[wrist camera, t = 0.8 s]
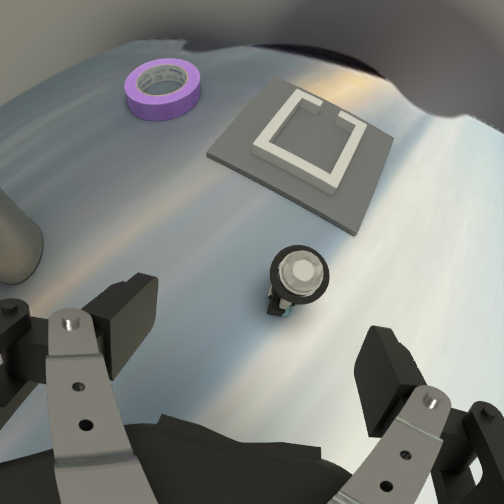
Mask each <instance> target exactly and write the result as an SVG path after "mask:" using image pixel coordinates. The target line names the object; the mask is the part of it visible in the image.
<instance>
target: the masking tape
mask: <svg viewBox="0 0 504 504" xmlns="http://www.w3.org/2000/svg"><path fill="white" fill-rule="evenodd" d="M161 81H175V82H178V83H181V84H182V85H183V86H182V87H181V88H180V89H178V90H176V91H174V92H172V93H169V94H164V95H149V94H145V93H143V91H144V90H145V89H146V88H147V87H149V86H150V85H152V84H155V83H157V82H161ZM124 89H125V93H126V98H127V102H128V106H129V109H130V110H131V112H132V113H133V114H134V115H136V116H137V117H139V118H141V119H144V120H149V121H164V120H169V119H173V118H176V117H179V116H181V115H183V114H185V113H187V112H188V111H189V110H191V109H192V108H193V107H194V106H195V105H196V103H197V102H198V99H199V96H200V74H199V71H198V69H197V68H196V67H195V66H194V65H193V64H191V63H189V62H187V61H184V60H181V59H174V58H166V59H158V60H154V61H150V62H147V63H145V64H143V65H141V66H139V67H138V68H136V69H135V70H134V71H132V72H131V73H130V75H129V76H128V77H127V79H126V81H125V86H124Z"/></svg>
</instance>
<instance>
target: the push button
mask: <svg viewBox="0 0 504 504" xmlns="http://www.w3.org/2000/svg"><path fill="white" fill-rule="evenodd" d="M280 262H281V264H280V269H278V265H279V263H280ZM270 279H271V283H272V285H271V286H270V288H269V292H268V297H269V296H270V295H272V300H271V302H270V304H269V306H268V310H267V314H272V315H277V316H282V317H286V316H287V315H289V314H290V310H291V306H295V304H308V303H311V302H314V301H315V300H317V299H318V298H320V297H321V296H322V295H323V294H324V292H325V291H326V289H327V287H328V284H329V269H328V266H327V264H326V262H325V260H324V258H323V257H322V256H321V255H320V254H319V253H318V252H317V251H315V250H314V249H312V248H310V247H307V246H303V245H293V246H289V247H286V248H284V249H283V250H281V251H280V252H279V253H278V254H277V255H276V256H275V258H274V260H273V262H272V264H271V268H270ZM314 291H315V292H314ZM313 292H314V293H313ZM310 293H313V294H312V295H310V296H307V297H303V296H305V295H306V294H310Z"/></svg>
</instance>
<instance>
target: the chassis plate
mask: <svg viewBox="0 0 504 504" xmlns="http://www.w3.org/2000/svg"><path fill="white" fill-rule="evenodd" d="M393 139H394V138H393V137H391V136H390V135H388V134H386V133H385V132H383V131H381V130H380V129H378V128H376V127H375V126H373V125H371V124H369V123H368V122H366V121H364V120H362V119H361V118H359V117H357V116H355V115H353V114H351V113H350V112H348V111H346V110H344V109H342V108H340V107H338V106H336V105H334V104H332V103H331V102H329V101H327V100H325V99H323V98H321V97H318V96H316V95H314V94H312V93H310V92H308V91H306V90H304V89H302V88H300V87H297V86H295V85H293V84H291V83H288V82H286V81H284V80H282V79H279V78H277V77H274V78H273V79H272V80H271V81H270V82H269V83H268V84H267V85H266V86H265V87H264V88H263V89H262V90H261V91H260V92H259V94H258V95H257V96H256V97H255V98H254V99H253V100H252V101H251V102H250V103H249V104H248V105H247V107H246V108H245V109H244V110H243V111H242V112H241V113H240V114H239V115H238V117H237V118H236V119H235V120H234V121H233V122H232V123H231V124H230V126H229V127H228V128H227V129H226V130H225V131H224V132H223V134H222V135H221V136H220V137H219V138H218V139H217V141H216V142H215V143H214V144H213V145H212V146H211V148H210V149H209V150H208V151H207V157H209V158H211V159H213V160H215V161H217V162H219V163H221V164H223V165H225V166H227V167H229V168H231V169H233V170H235V171H237V172H238V173H240V174H242V175H244V176H246V177H248V178H250V179H252V180H254V181H256V182H258V183H260V184H261V185H263V186H265V187H267V188H269V189H271V190H273V191H275V192H276V193H278V194H280V195H282V196H284V197H286V198H287V199H289V200H291V201H293V202H295V203H297V204H298V205H300V206H302V207H304V208H306V209H307V210H309V211H311V212H313V213H314V214H316V215H318V216H320V217H322V218H323V219H325V220H327V221H329V222H330V223H332V224H334V225H335V226H337V227H339V228H341V229H342V230H344V231H346V232H347V233H349V234H351V235H353V236H355V235H356V234H357V233H358V230H359V228H360V225H361V223H362V221H363V218H364V216H365V213H366V211H367V208H368V206H369V203H370V201H371V198H372V196H373V193H374V191H375V188H376V186H377V183H378V180H379V178H380V175H381V173H382V170H383V167H384V164H385V162H386V159H387V156H388V153H389V151H390V148H391V145H392V142H393Z"/></svg>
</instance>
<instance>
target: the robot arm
mask: <svg viewBox="0 0 504 504" xmlns="http://www.w3.org/2000/svg"><path fill="white" fill-rule="evenodd" d="M42 248H43V239H42V234H41V231H40V229H39V228H38V226H37V225H36V224H35V223H34V222H33V221H32V220H31V219H30V218H29V217H28V216H27V215H26V214H25V213H24V212H23V211H22V210H21V209H20V208H19V207H18V206H17V205H16V204H15V203H14V202H13V201H12V200H11V198H10V197H9V196H8V195H7V194H6V193H5V192H4V191H3V190H2V189H1V188H0V281H2V282H4V283H7V284H17V283H20V282H22V281H23V280H25V279H26V278H28V277H29V276H30V275H31V274H32V272H33V271H34V270H35V268H36V266H37V264H38V263H39V260H40V257H41V254H42ZM157 293H158V278H157V277H154V276H150V275H146V274H142V273H137V274H135V275H134V276H133V277H132V278H130V279H129V280H128V281H127V282H124V281H122V282H119V283H116V284H113V285H111V286H109V287H108V288H107V289H106V290H104V292H102V293H101V294H99V295H98V297H96V298H94V299H93V300H92V301H91V302H89V303H88V304H87V305H86V306H84V307H83V308H82V309H81V310H80V309H74V308H67V309H61V310H58V311H56V312H54V313H53V314H52V315H51V316H50V318H49V320H48V319H42V318H36V317H31V316H30V312H29V306H28V304H27V303H26V302H25V301H23V300H20V299H14V298H9V299H3V300H0V354H1V357H2V361H3V363H2V364H1V365H0V430H1V429H2V427H3V426H4V425H5V424H6V422H7V421H8V420H9V419H10V417H11V416H12V415H13V414H14V412H15V411H16V410H17V409H18V407H19V406H20V405H21V404H22V403H23V401H24V400H25V399H26V398H27V397H28V395H29V394H30V393H31V392H32V391H33V389H34V388H35V387H36V386H37V385H38V383H42V384H47V398H48V410H49V420H50V429H51V437H52V444H53V449H50V450H46V451H43V452H40V453H36V454H33V455H29V456H25V457H22V458H18V459H14V460H10V461H6V462H2V463H0V504H414V503H415V501H416V499H417V497H418V495H419V494H420V492H421V490H422V488H423V486H424V484H425V482H426V479H427V477H428V475H429V473H430V472H431V476H432V480H433V484H434V488H435V492H436V496H437V500H438V504H504V417H503V416H502V414H501V412H500V411H499V410H498V409H497V408H496V407H495V406H493V405H492V404H490V403H487V402H484V401H477V402H475V403H473V405H472V406H471V408H470V409H469V411H468V412H465V411H461V410H457V409H454V408H451V401H450V399H449V398H448V396H447V395H446V394H445V393H444V392H442V391H441V390H439V389H437V388H435V387H432V386H428V385H427V384H426V382H425V380H424V378H423V376H422V374H421V372H420V370H419V368H417V365H416V363H415V361H413V360H414V359H413V357H412V355H411V353H410V352H409V350H408V349H407V348H406V347H404V346H403V345H402V344H401V343H399V342H398V340H397V338H396V337H395V335H394V333H393V331H392V329H391V328H385V327H379V326H374V325H373V326H371V327H370V328H369V330H368V332H367V335H366V337H365V340H364V342H363V345H362V347H361V350H360V352H359V354H358V357H357V359H356V362H355V366H354V377H355V381H356V385H357V389H358V393H359V397H360V401H361V405H362V409H363V414H364V418H365V422H366V427H367V431H368V436H369V437H375V438H381V440H380V441H379V442H378V444H377V445H376V446H375V448H374V449H373V450H372V452H371V453H370V454H369V456H368V457H367V458H366V459H365V461H364V462H363V463H362V464H361V466H360V467H359V468H358V469H357V471H356V472H355V473H354V474H353V475H352V474H351V473H349V472H348V471H347V470H345V469H343V468H342V467H340V466H338V465H336V464H334V463H332V462H329V461H327V460H324V459H321V447H315V446H306V445H299V444H291V443H285V442H272V443H242V442H237V441H235V440H232V439H230V438H228V437H225V436H223V435H221V434H219V433H216V432H214V431H212V430H210V429H208V428H206V427H203V426H201V425H198V424H195V423H191V422H187V421H184V420H180V419H177V418H173V417H170V416H167V415H164V414H162V415H161V417H160V419H159V421H158V423H157V424H144V423H141V424H129V425H123V422H122V419H121V416H120V413H119V410H118V407H117V404H116V401H115V397H114V394H113V391H112V387H111V384H110V380H111V381H113V380H114V379H115V377H116V376H117V375H118V373H119V372H120V371H121V369H122V368H123V367H124V365H125V364H126V363H127V361H128V360H129V359H130V357H131V356H132V355H133V353H134V352H135V351H136V349H137V348H138V347H139V345H140V344H141V343H142V341H143V340H144V339H145V337H146V336H147V335H148V333H149V332H150V331H151V329H152V327H153V325H154V321H155V317H156V305H157ZM477 456H478V459H479V461H480V464H481V466H482V470H483V474H482V478H481V480H480V482H479V483H478V484H477V485H475V482H474V479H473V476H472V473H471V470H470V468H469V466H470V465H471V463H472V462H473V461H474V460H475V459H476V458H477Z"/></svg>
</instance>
